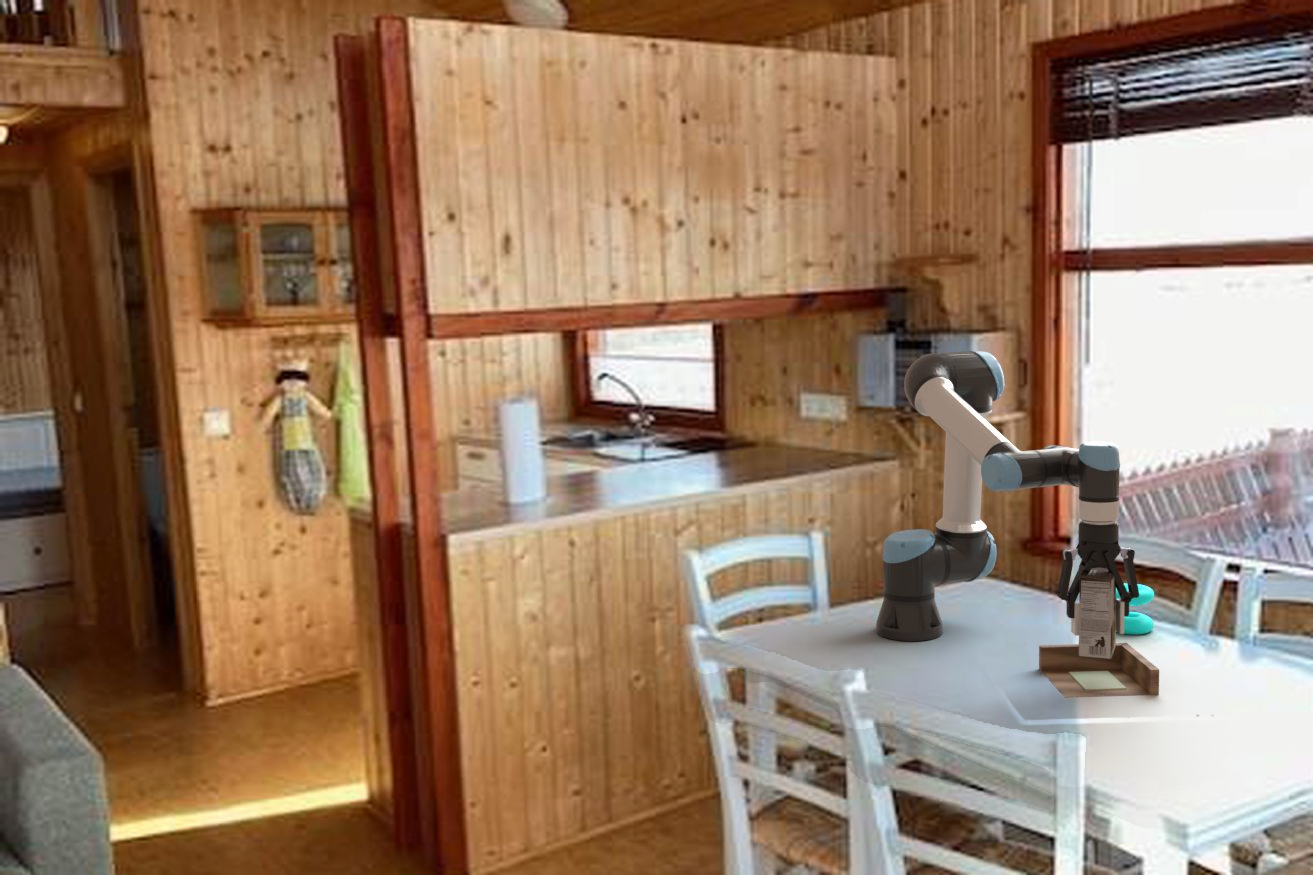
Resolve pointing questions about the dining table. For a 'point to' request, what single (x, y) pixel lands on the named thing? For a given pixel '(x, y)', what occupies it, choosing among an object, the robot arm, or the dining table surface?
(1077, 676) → the pad
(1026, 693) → the dining table surface
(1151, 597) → the donuts
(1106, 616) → the coffee box
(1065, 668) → the wooden corner tray
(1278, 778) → the dining table surface
